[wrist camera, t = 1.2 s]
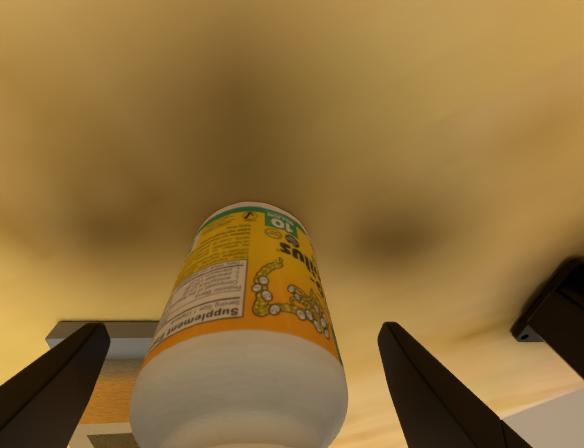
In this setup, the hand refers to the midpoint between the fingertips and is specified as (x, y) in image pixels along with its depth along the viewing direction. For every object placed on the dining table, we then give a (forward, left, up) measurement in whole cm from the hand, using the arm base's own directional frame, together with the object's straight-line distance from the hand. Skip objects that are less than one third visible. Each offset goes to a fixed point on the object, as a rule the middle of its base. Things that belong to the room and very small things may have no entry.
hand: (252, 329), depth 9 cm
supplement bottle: (0, 0, -5) cm, 5 cm away
